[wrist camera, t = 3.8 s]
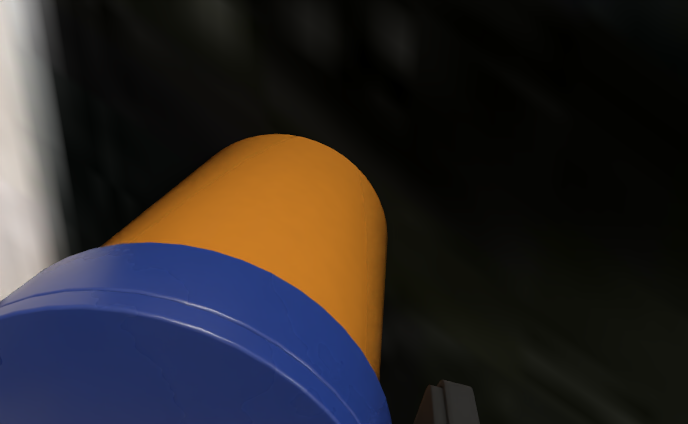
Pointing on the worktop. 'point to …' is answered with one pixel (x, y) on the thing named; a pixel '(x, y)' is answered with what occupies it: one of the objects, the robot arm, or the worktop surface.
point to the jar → (285, 225)
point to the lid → (176, 345)
